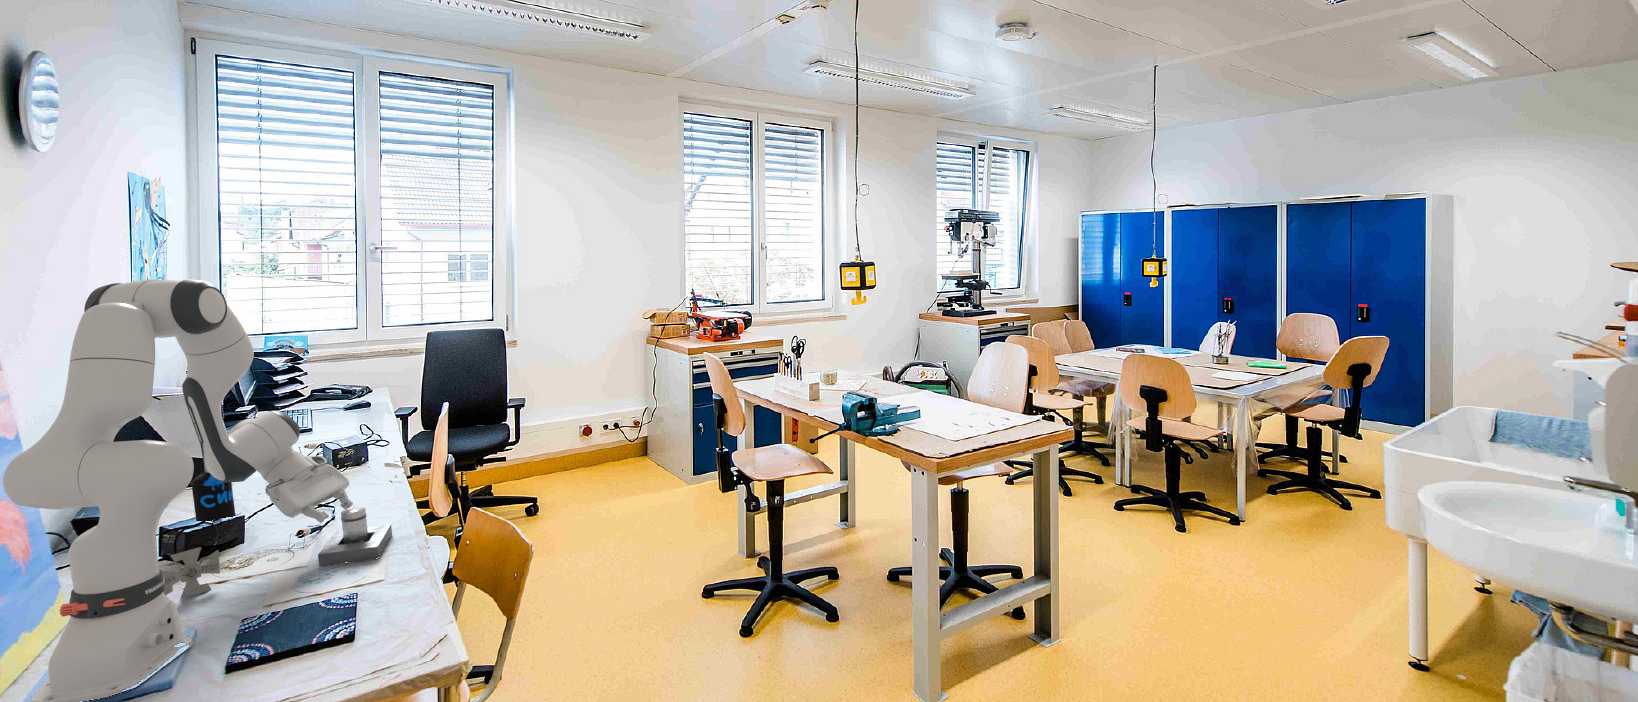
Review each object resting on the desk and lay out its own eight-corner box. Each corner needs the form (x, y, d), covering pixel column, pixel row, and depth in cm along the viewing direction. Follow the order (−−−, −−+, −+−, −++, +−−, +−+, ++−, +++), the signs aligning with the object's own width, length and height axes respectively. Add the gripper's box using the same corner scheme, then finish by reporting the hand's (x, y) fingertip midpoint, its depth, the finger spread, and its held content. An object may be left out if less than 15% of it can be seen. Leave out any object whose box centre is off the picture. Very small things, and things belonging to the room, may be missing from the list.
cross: (219, 584, 162) (213, 540, 161) (225, 586, 161) (220, 542, 160) (160, 604, 153) (154, 557, 152) (166, 606, 152) (160, 560, 151)
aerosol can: (191, 543, 186) (181, 466, 184) (229, 532, 194) (220, 457, 191) (207, 549, 182) (197, 470, 180) (246, 537, 190) (236, 461, 187)
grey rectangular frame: (378, 558, 175) (377, 546, 174) (319, 566, 171) (317, 554, 170) (392, 535, 190) (391, 524, 189) (337, 542, 186) (336, 530, 185)
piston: (367, 552, 178) (363, 512, 177) (342, 556, 177) (337, 515, 175) (372, 545, 183) (368, 505, 182) (347, 548, 182) (343, 508, 180)
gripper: (269, 477, 167) (318, 518, 168) (327, 454, 187) (370, 491, 188) (251, 497, 167) (300, 538, 168) (311, 472, 187) (354, 508, 189)
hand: (337, 513), depth 178 cm, fingers open, 8 cm apart
